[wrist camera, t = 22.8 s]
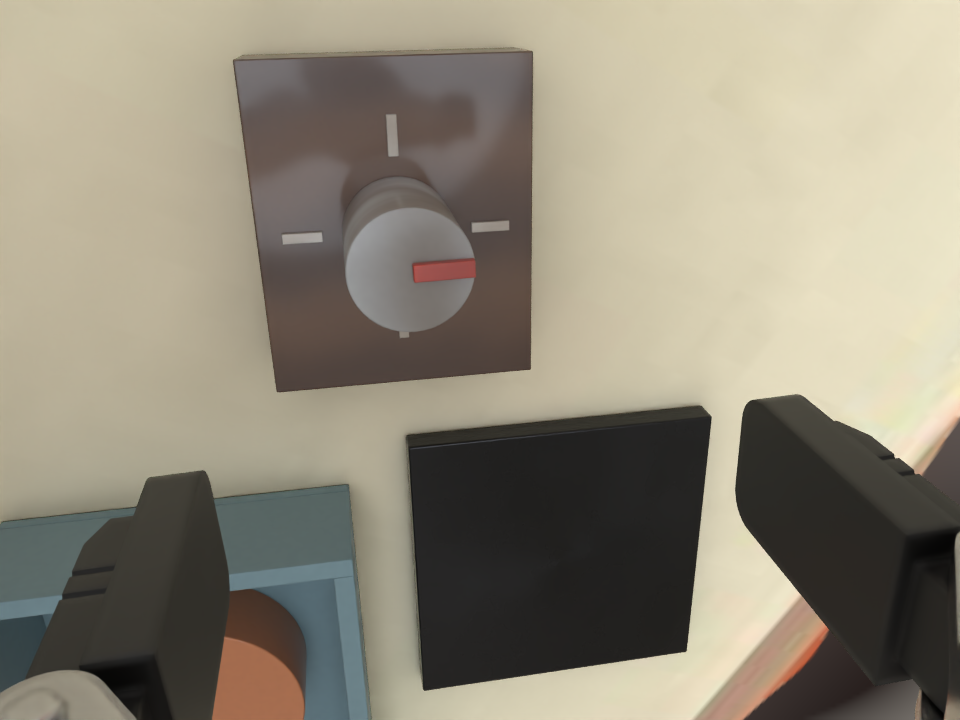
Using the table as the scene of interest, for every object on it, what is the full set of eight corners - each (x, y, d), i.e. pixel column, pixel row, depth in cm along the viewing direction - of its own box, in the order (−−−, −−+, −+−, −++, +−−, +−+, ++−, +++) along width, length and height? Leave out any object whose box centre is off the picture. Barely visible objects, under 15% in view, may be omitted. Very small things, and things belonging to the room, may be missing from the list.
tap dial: (348, 289, 30) (352, 342, 25) (336, 180, 28) (338, 214, 23) (455, 279, 30) (479, 329, 26) (449, 172, 29) (474, 204, 24)
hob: (405, 434, 36) (408, 447, 35) (701, 405, 38) (712, 416, 37) (420, 674, 42) (423, 691, 41) (678, 636, 44) (687, 652, 43)
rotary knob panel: (241, 54, 29) (232, 60, 26) (514, 47, 30) (534, 51, 28) (280, 362, 34) (276, 394, 31) (515, 342, 35) (531, 371, 32)
